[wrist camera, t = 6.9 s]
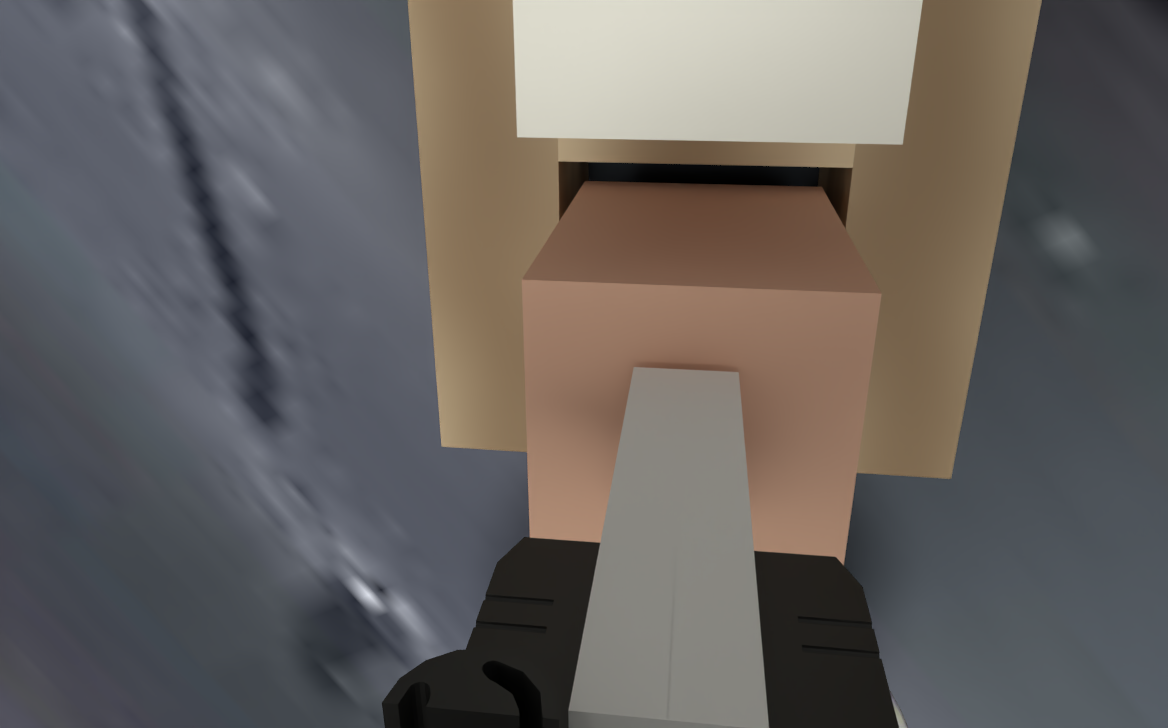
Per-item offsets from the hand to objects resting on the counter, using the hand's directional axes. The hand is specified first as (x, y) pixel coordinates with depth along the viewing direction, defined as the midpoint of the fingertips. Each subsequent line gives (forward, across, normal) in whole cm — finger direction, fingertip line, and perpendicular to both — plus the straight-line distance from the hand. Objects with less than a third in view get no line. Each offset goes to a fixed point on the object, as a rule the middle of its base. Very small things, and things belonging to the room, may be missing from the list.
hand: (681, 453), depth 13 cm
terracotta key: (+7, 0, 0) cm, 7 cm away
